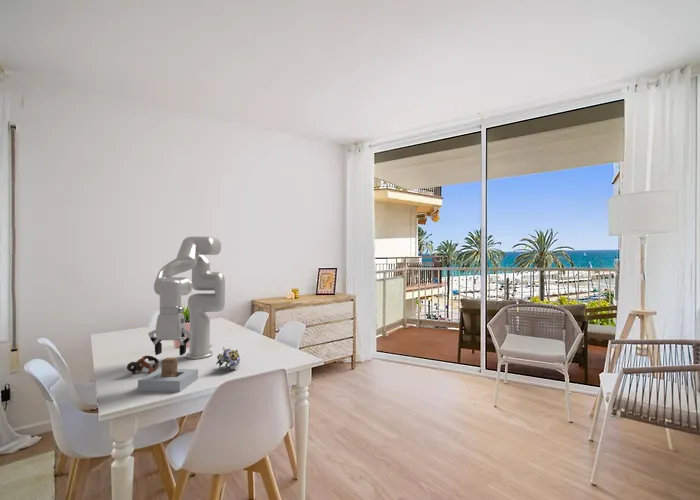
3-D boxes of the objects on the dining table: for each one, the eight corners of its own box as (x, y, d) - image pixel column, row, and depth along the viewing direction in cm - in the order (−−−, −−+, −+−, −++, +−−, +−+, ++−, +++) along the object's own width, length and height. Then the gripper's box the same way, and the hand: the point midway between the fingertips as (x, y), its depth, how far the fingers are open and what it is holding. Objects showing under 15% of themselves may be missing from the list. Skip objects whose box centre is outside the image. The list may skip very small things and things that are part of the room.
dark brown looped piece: (146, 369, 157) (155, 353, 157) (155, 382, 152) (164, 366, 152) (119, 369, 147) (129, 352, 147) (127, 384, 142) (137, 366, 142)
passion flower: (234, 382, 154) (232, 365, 147) (211, 377, 155) (208, 359, 148) (245, 362, 163) (243, 344, 157) (223, 357, 164) (220, 340, 158)
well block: (160, 378, 143) (160, 368, 144) (197, 378, 143) (198, 369, 143) (137, 391, 130) (137, 380, 130) (179, 391, 129) (179, 380, 129)
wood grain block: (167, 382, 138) (167, 357, 139) (177, 383, 138) (177, 357, 138) (161, 386, 134) (161, 360, 135) (171, 386, 134) (171, 360, 134)
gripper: (196, 309, 140) (196, 351, 141) (154, 308, 141) (154, 351, 141) (187, 312, 133) (187, 357, 133) (143, 312, 134) (143, 356, 134)
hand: (170, 354), depth 137 cm, fingers open, 9 cm apart
